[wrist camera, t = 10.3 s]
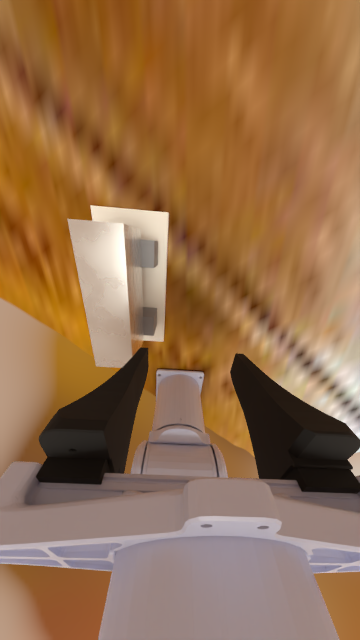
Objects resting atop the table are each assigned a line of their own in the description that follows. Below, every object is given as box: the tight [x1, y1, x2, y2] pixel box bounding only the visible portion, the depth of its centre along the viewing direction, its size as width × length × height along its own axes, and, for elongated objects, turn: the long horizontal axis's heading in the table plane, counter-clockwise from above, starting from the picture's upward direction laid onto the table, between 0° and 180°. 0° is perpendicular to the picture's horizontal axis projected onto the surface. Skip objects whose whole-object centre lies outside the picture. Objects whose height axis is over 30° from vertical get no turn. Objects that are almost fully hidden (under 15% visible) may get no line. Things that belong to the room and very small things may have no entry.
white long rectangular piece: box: [68, 219, 144, 368], centre depth 15 cm, size 12×4×5 cm, turn 176°
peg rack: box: [90, 205, 169, 342], centre depth 19 cm, size 16×8×4 cm, turn 175°
